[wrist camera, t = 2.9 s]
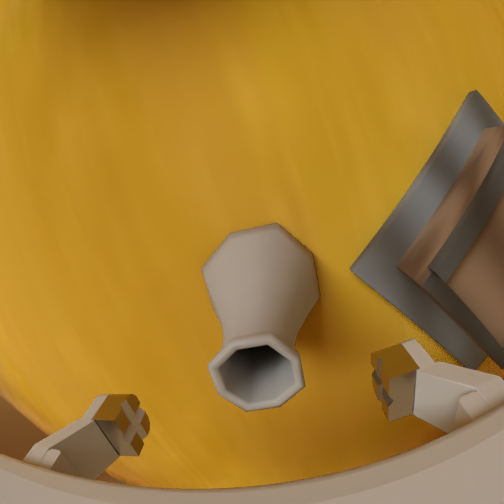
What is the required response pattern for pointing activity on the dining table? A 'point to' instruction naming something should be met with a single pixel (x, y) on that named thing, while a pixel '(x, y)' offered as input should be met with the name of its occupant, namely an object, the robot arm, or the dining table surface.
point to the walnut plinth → (450, 241)
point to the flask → (260, 314)
